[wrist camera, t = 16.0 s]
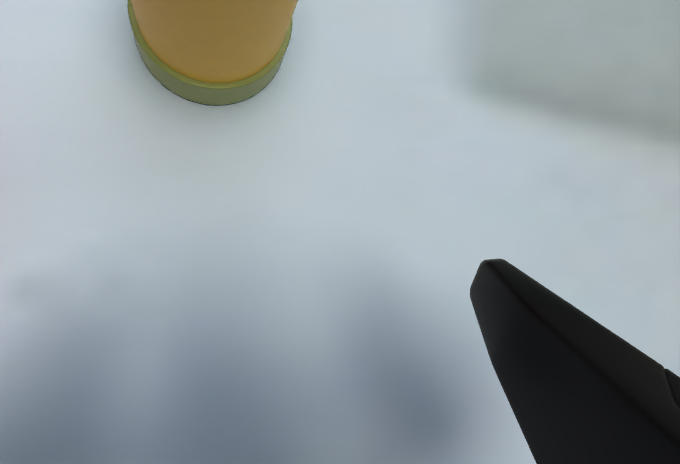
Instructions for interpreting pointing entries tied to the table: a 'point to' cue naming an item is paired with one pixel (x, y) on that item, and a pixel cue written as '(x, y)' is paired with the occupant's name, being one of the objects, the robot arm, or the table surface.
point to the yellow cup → (212, 45)
